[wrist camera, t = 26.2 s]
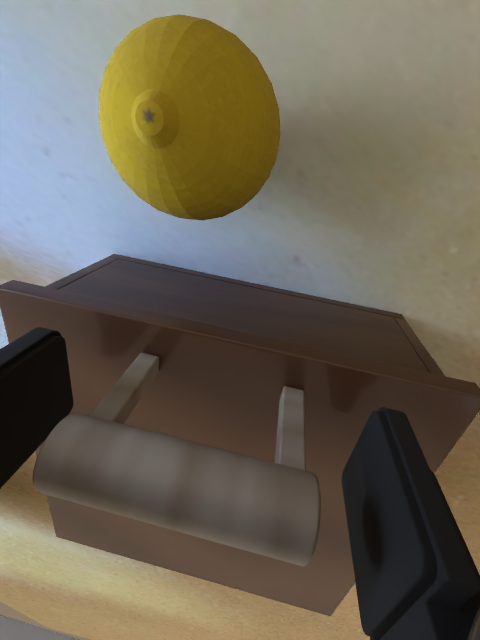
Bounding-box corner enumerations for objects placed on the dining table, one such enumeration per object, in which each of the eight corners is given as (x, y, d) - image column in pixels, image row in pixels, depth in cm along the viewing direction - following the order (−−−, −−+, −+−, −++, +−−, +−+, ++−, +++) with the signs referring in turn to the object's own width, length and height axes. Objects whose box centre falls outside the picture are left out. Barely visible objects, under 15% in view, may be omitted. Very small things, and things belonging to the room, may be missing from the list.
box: (113, 253, 17) (20, 297, 12) (402, 314, 16) (461, 397, 10) (120, 437, 24) (65, 522, 19) (321, 489, 23) (329, 597, 17)
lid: (13, 278, 11) (-218, 371, 6) (476, 382, 10) (657, 603, 5) (64, 523, 19) (-19, 652, 14) (329, 598, 17) (342, 770, 12)
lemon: (311, 125, 13) (325, 76, 6) (236, 229, 16) (186, 280, 9) (206, 32, 12) (83, -149, 5) (146, 157, 15) (8, 149, 8)
